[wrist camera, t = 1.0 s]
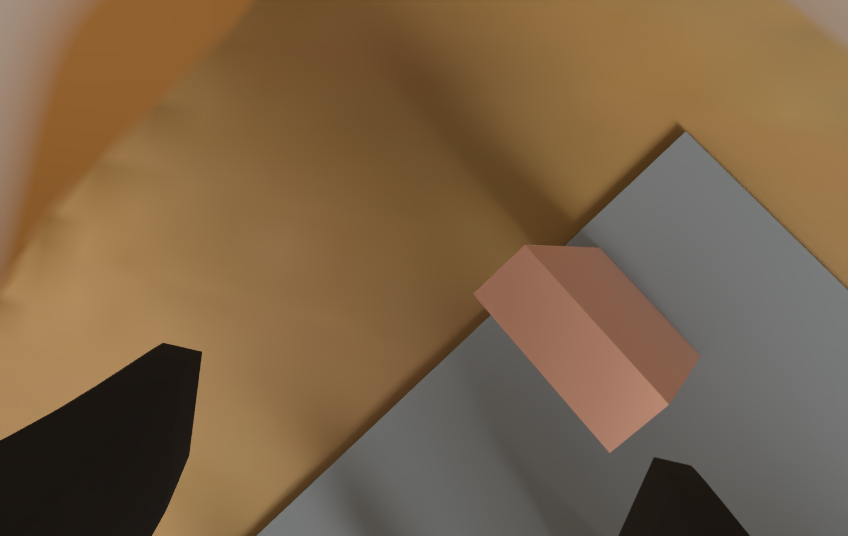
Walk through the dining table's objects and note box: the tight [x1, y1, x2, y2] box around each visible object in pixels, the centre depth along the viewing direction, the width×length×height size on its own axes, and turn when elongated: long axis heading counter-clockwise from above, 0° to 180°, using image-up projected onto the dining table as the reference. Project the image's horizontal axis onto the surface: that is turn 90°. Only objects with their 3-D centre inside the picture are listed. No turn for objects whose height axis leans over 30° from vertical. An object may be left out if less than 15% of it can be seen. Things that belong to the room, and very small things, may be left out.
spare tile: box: [473, 245, 701, 453], centre depth 21 cm, size 4×2×8 cm, turn 43°
